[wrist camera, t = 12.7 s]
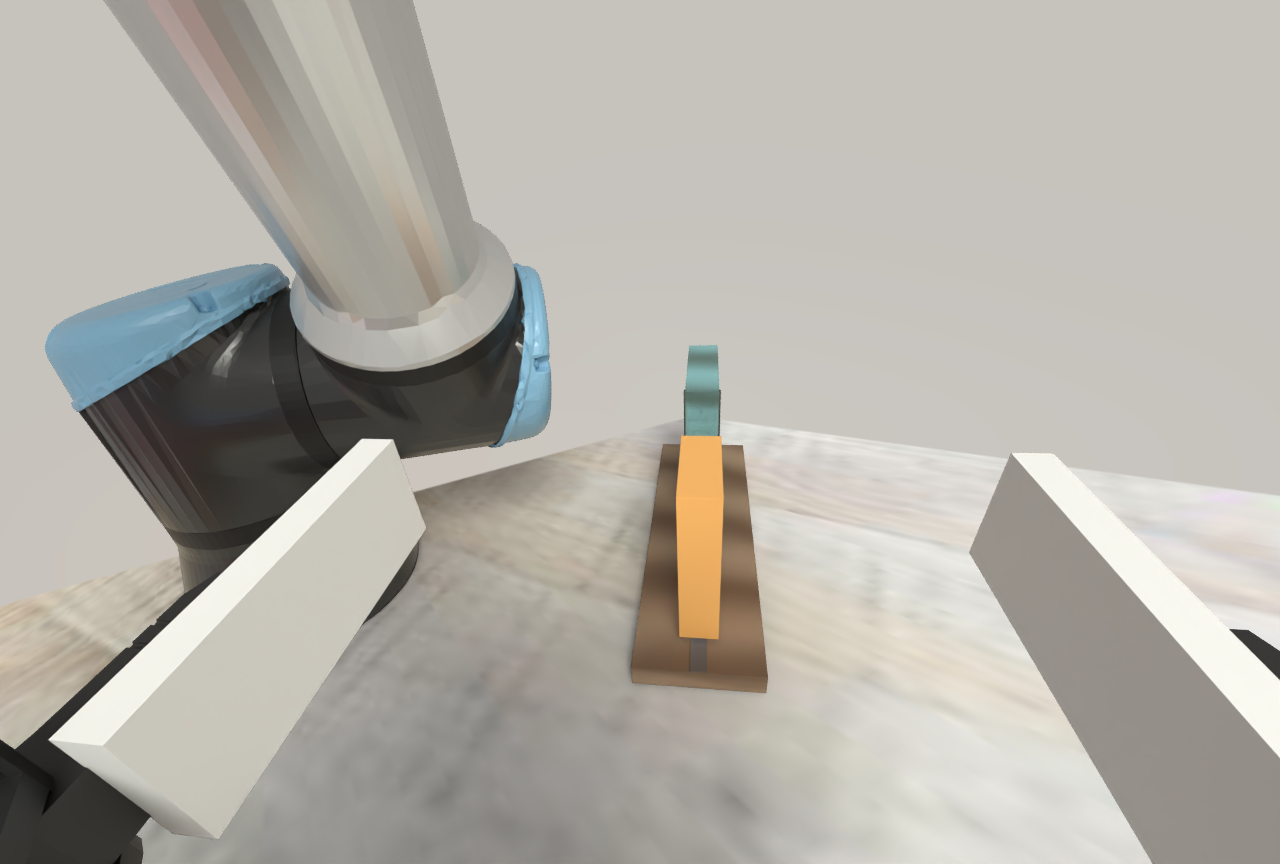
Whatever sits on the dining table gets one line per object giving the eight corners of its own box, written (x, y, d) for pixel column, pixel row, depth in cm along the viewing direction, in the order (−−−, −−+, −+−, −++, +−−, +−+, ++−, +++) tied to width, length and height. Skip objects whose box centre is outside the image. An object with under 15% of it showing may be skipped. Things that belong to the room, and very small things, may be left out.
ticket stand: (766, 693, 30) (786, 527, 23) (632, 682, 31) (615, 521, 24) (742, 457, 51) (749, 336, 44) (663, 456, 52) (658, 337, 45)
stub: (718, 639, 31) (723, 498, 25) (679, 636, 31) (675, 496, 26) (717, 566, 36) (721, 436, 30) (683, 565, 36) (681, 435, 31)
